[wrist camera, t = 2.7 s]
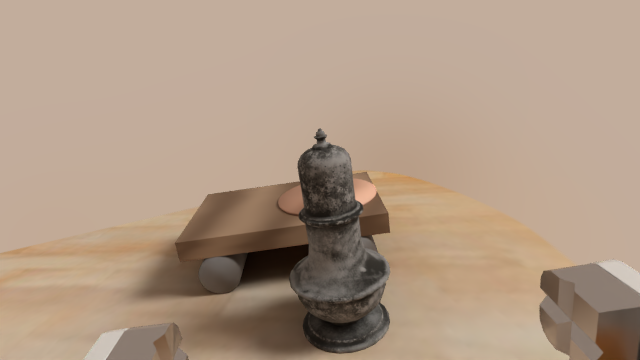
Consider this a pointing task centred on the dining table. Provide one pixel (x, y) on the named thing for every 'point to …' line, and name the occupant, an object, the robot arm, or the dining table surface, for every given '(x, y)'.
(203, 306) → the dining table surface
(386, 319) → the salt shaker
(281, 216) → the roller slab
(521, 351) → the dining table surface
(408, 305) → the dining table surface
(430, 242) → the dining table surface
